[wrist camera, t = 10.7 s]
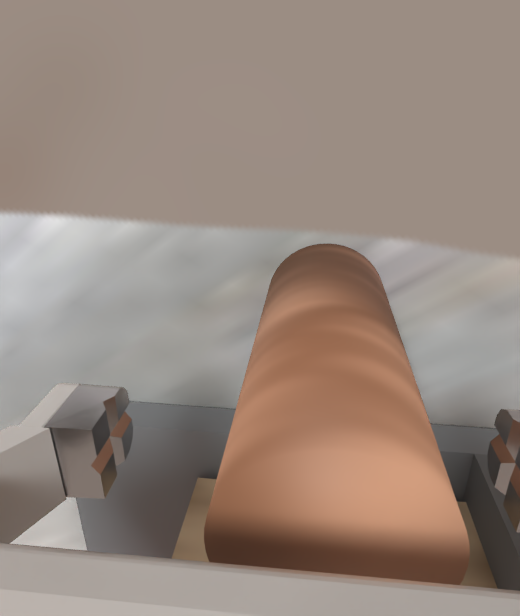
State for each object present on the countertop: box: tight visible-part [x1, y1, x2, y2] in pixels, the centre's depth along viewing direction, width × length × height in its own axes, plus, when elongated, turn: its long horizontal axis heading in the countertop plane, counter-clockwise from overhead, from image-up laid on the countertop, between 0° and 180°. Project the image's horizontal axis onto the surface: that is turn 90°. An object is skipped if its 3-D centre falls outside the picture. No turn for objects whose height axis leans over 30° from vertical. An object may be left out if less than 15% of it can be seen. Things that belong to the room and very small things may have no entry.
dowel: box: [204, 244, 470, 585], centre depth 12 cm, size 4×4×10 cm
